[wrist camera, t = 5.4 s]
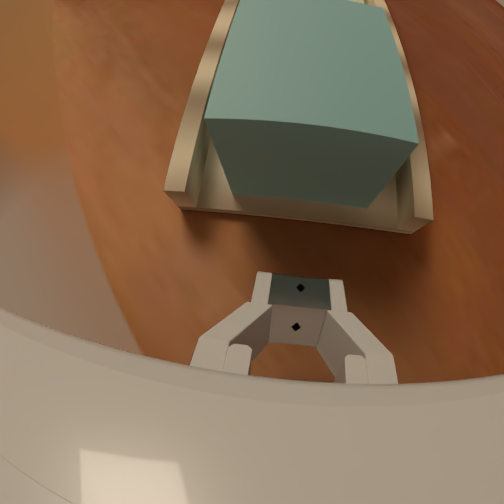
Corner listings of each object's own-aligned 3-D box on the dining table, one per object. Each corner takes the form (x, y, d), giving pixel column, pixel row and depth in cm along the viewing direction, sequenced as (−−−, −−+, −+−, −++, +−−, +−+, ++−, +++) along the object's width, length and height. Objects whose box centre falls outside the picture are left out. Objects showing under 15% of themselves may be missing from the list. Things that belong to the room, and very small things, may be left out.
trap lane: (410, 234, 17) (433, 220, 14) (180, 209, 18) (163, 190, 15) (359, -29, 23) (362, -45, 20) (253, -39, 25) (251, -55, 22)
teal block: (366, 208, 17) (418, 143, 9) (232, 193, 17) (203, 118, 10) (360, 84, 18) (383, 8, 11) (252, 73, 19) (242, -8, 12)
